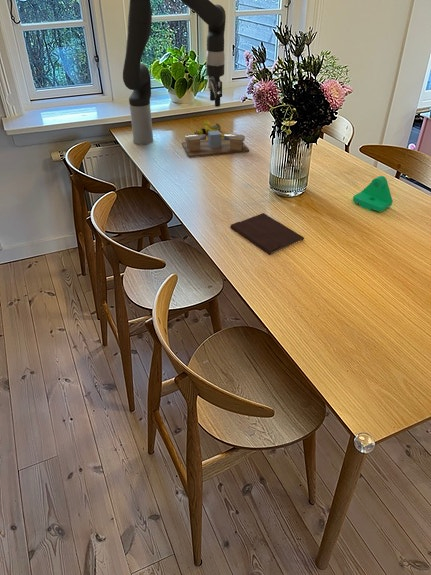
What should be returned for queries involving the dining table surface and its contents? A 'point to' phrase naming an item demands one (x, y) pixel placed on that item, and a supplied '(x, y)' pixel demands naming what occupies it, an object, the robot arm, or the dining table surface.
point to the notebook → (266, 233)
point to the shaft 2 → (228, 136)
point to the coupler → (214, 139)
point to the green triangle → (375, 195)
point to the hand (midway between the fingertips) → (215, 103)
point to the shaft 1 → (202, 137)
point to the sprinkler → (209, 129)
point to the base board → (203, 149)
